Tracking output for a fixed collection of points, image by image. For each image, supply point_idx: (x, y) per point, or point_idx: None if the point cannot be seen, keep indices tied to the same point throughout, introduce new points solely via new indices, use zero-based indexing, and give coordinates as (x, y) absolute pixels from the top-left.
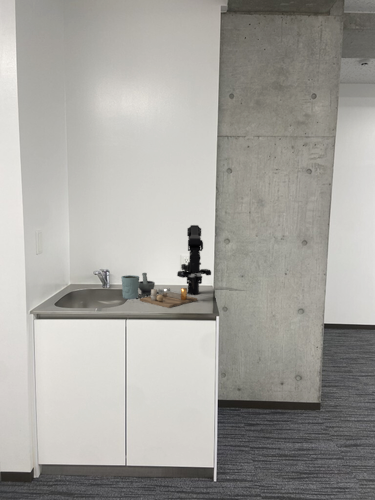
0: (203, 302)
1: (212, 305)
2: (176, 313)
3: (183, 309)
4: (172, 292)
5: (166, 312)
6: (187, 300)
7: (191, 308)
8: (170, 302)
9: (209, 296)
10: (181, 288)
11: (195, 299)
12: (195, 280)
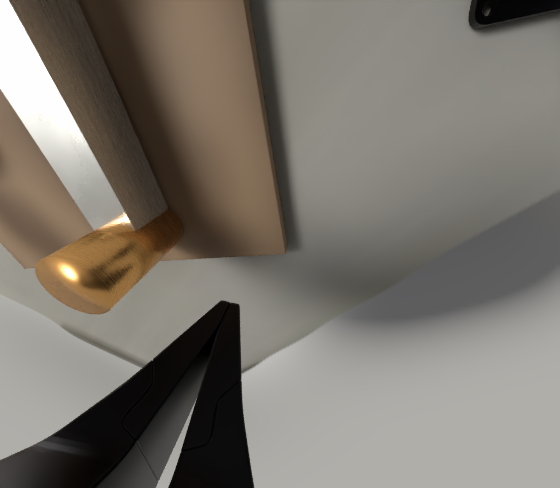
0: (281, 298)
1: (275, 351)
2: (66, 330)
3: (111, 315)
4: (6, 90)
5: (23, 301)
6: (178, 254)
7: (154, 325)
8: (41, 221)
9: (496, 211)
10: (41, 272)
11: (262, 252)
12: (153, 479)
